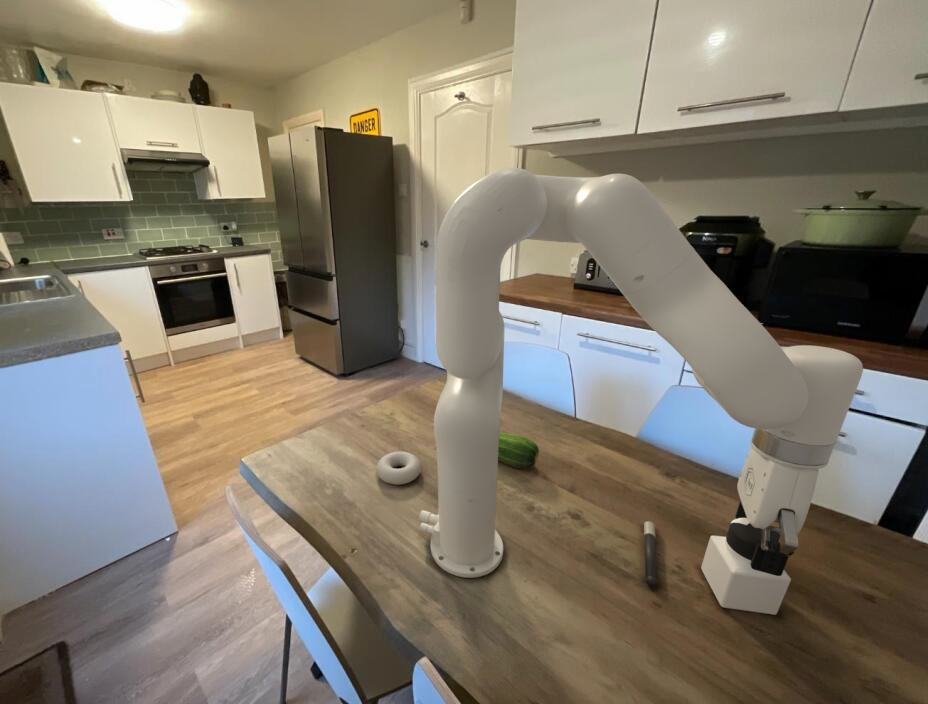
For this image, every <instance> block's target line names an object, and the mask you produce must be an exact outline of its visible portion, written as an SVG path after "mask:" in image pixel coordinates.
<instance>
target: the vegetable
mask: <svg viewBox="0 0 928 704" xmlns="http://www.w3.org/2000/svg"><path fill="white" fill-rule="evenodd" d="M539 453H540V450H539V446H538V445H537V443H536V442H535V441H534V440H532V439H530V438H528V437H526V436H524V435H519V434H512V433H506V432H501V431H500V435H499V448H498V462H501V463H503V464H505V465H508V466H509V467H513V468H517V469H522V470H524V469H527V470H528V469H530V468H533V467H534V466H535V465H536V463H537V460H538V458H539V456H540V455H539Z"/></svg>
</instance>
